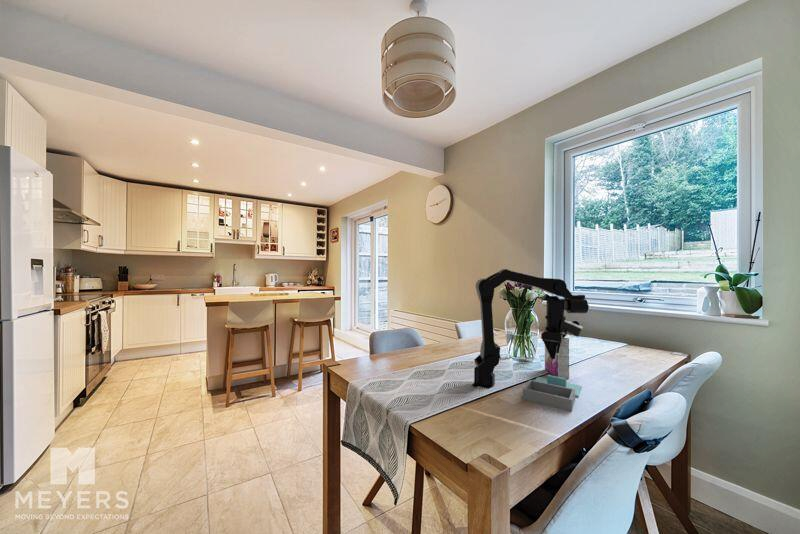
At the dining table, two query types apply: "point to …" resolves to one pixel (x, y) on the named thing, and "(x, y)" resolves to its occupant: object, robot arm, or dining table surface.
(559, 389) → the parts tub
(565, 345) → the candy bar box
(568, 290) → the robot arm
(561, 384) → the teal lid
